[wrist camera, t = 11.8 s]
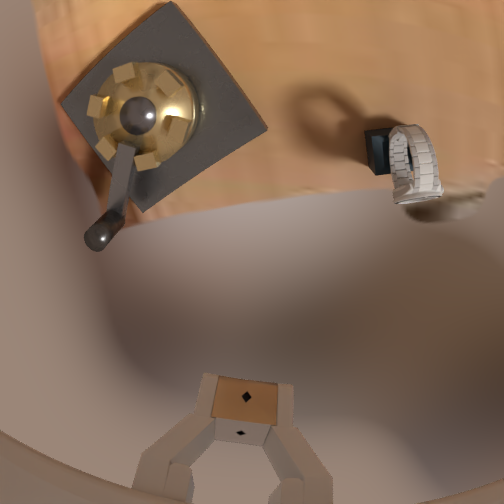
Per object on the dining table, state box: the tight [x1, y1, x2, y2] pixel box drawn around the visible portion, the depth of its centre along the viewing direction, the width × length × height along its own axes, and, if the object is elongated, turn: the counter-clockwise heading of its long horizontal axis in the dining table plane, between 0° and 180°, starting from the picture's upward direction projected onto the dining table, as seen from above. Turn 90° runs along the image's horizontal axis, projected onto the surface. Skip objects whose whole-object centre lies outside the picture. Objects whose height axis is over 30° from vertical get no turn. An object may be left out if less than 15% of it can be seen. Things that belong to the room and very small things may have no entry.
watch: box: [364, 124, 444, 204], centre depth 28 cm, size 6×8×11 cm
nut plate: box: [61, 1, 268, 213], centre depth 32 cm, size 18×18×2 cm
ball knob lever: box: [84, 62, 199, 252], centre depth 29 cm, size 19×11×9 cm, turn 159°
